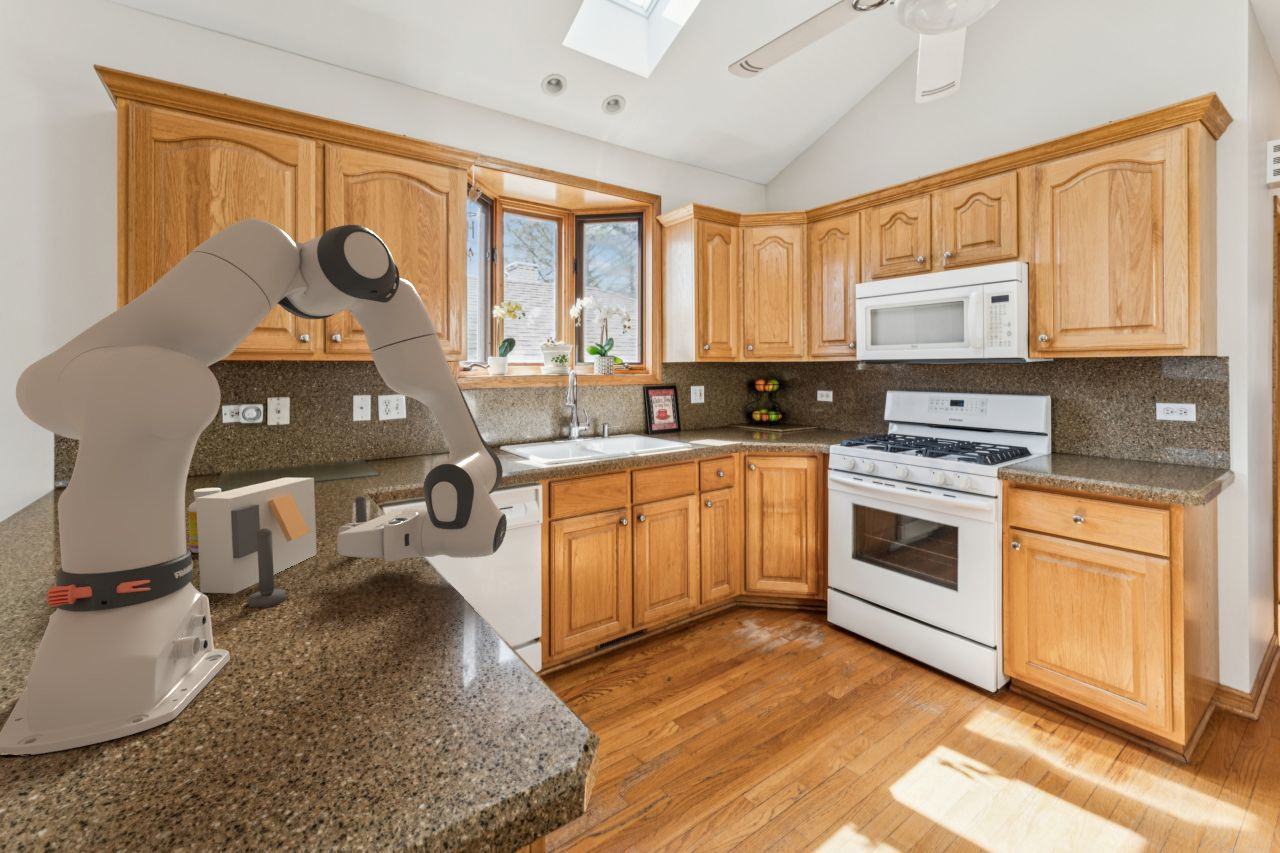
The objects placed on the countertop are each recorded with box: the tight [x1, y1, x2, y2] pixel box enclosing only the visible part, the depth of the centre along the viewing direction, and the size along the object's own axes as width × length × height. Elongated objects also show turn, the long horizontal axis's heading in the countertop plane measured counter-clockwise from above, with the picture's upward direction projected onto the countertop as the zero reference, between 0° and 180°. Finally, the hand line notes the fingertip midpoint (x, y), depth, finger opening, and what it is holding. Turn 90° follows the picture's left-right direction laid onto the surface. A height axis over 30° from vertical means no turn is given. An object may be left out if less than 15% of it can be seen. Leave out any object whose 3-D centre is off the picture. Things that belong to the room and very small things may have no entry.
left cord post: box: [247, 528, 287, 609], centre depth 94 cm, size 5×5×12 cm
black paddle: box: [231, 505, 260, 558], centre depth 100 cm, size 1×5×8 cm, turn 176°
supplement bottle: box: [187, 487, 222, 554], centre depth 123 cm, size 7×7×13 cm
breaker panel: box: [196, 477, 317, 594], centre depth 108 cm, size 6×22×16 cm, turn 176°
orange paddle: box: [268, 495, 310, 542], centre depth 108 cm, size 1×5×8 cm, turn 174°
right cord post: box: [355, 494, 368, 523], centre depth 122 cm, size 5×5×12 cm
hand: (342, 529), depth 107 cm, fingers closed
